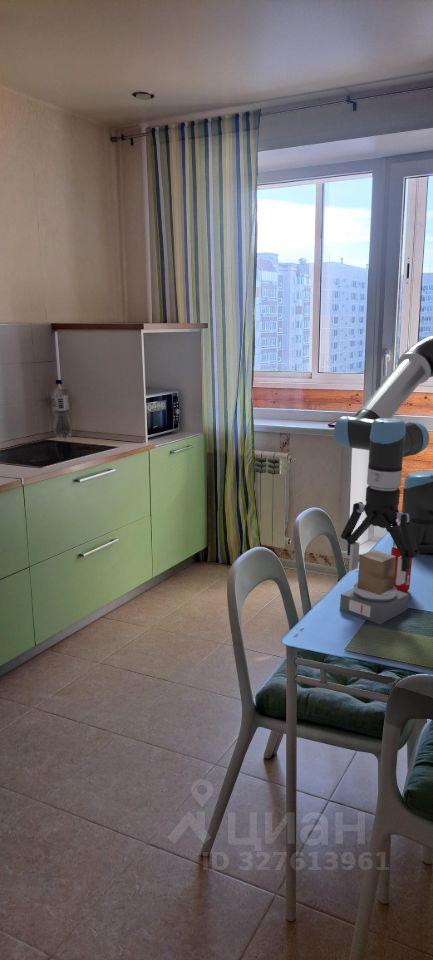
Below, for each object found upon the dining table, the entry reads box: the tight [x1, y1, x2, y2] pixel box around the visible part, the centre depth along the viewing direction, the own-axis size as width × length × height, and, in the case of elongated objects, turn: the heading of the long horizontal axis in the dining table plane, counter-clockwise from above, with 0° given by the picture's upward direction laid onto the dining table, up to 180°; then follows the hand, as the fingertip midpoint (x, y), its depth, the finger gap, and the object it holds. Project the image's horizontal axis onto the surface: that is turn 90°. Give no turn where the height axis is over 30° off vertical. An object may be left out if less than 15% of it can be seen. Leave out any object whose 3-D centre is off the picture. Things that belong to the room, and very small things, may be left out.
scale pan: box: [353, 581, 397, 602], centre depth 165 cm, size 10×10×2 cm
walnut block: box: [357, 549, 396, 595], centre depth 164 cm, size 6×6×8 cm
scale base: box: [339, 587, 409, 625], centre depth 166 cm, size 12×11×4 cm
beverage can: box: [390, 543, 413, 594], centre depth 177 cm, size 5×5×12 cm
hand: (376, 576), depth 165 cm, fingers open, 12 cm apart
